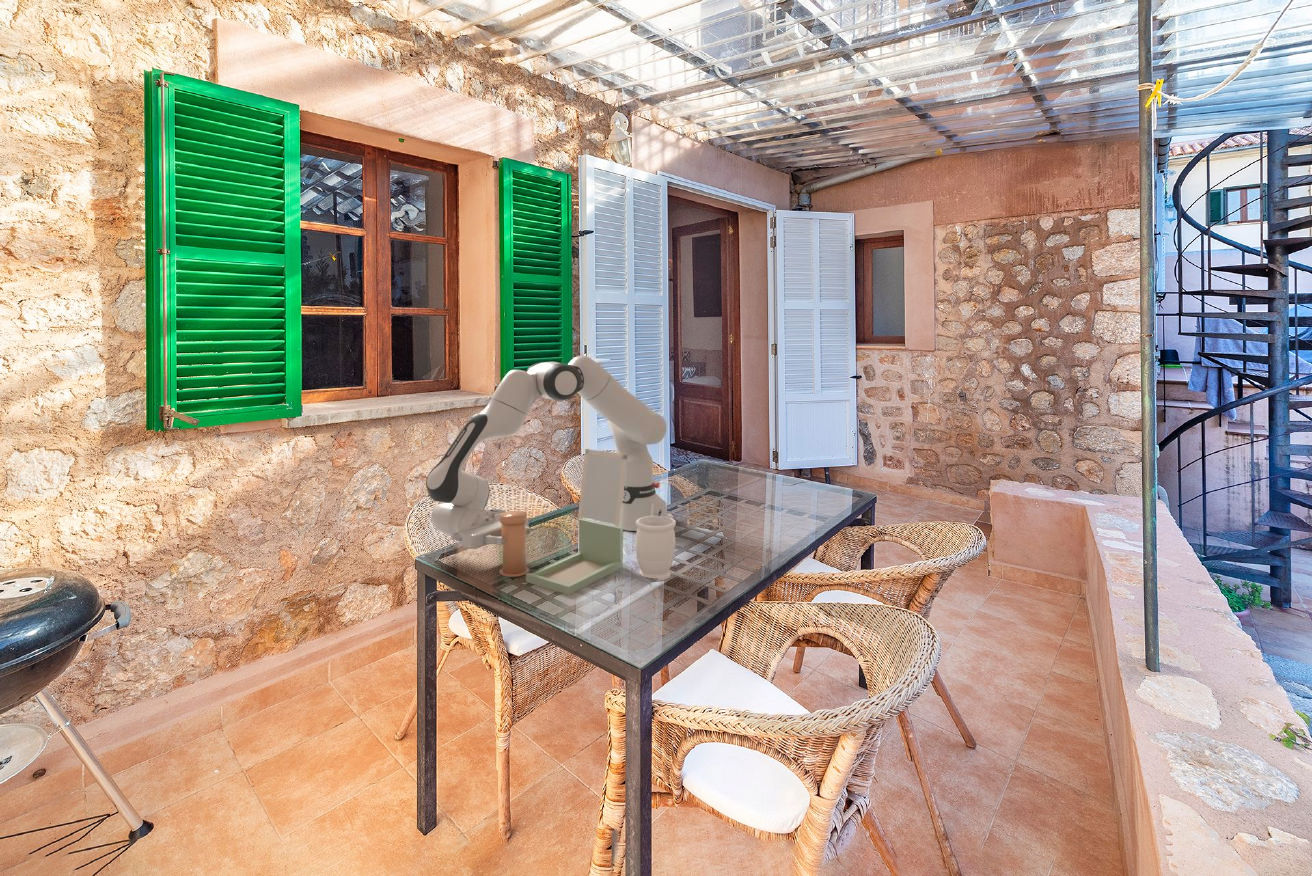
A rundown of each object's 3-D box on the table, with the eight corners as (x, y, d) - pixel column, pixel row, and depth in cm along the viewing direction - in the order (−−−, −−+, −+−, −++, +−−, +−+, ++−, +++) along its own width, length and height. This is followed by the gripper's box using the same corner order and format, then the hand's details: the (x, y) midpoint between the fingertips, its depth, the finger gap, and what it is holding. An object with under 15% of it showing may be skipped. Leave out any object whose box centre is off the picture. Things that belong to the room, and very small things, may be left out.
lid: (577, 517, 175) (579, 517, 175) (618, 526, 168) (619, 526, 168) (585, 448, 174) (587, 449, 175) (626, 455, 167) (627, 455, 168)
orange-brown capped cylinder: (514, 563, 172) (512, 509, 169) (533, 568, 168) (532, 513, 166) (495, 571, 166) (494, 515, 163) (515, 576, 162) (513, 520, 160)
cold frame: (581, 559, 179) (581, 518, 177) (622, 570, 171) (622, 527, 169) (526, 585, 160) (525, 539, 158) (568, 598, 153) (568, 550, 151)
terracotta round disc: (514, 567, 172) (514, 562, 172) (535, 573, 168) (535, 568, 168) (493, 575, 166) (493, 571, 166) (514, 582, 162) (514, 577, 162)
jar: (648, 565, 175) (649, 512, 173) (681, 573, 170) (683, 519, 167) (627, 578, 166) (627, 522, 164) (661, 586, 161) (662, 529, 158)
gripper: (447, 525, 163) (485, 535, 156) (506, 507, 180) (542, 515, 173) (448, 548, 164) (485, 559, 157) (506, 528, 181) (543, 537, 174)
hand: (516, 536), depth 165 cm, fingers open, 8 cm apart
